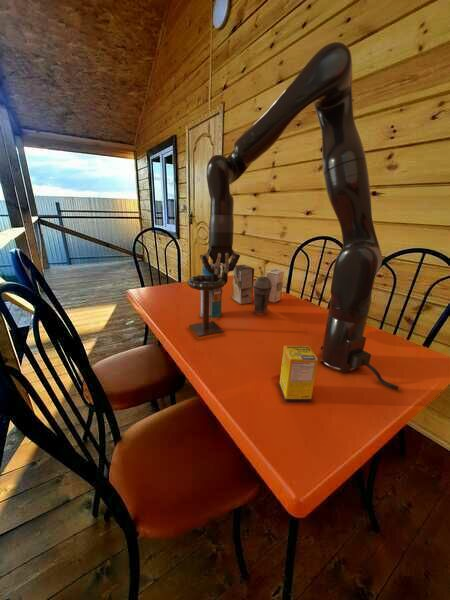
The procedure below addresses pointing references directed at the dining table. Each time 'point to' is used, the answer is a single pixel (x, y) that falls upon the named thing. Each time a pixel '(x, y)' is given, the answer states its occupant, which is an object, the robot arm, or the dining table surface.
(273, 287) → the syrup box
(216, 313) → the beverage bottle
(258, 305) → the beverage cup
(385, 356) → the dining table surface
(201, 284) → the ring
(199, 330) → the stand
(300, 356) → the supplement box
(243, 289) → the coffee box
